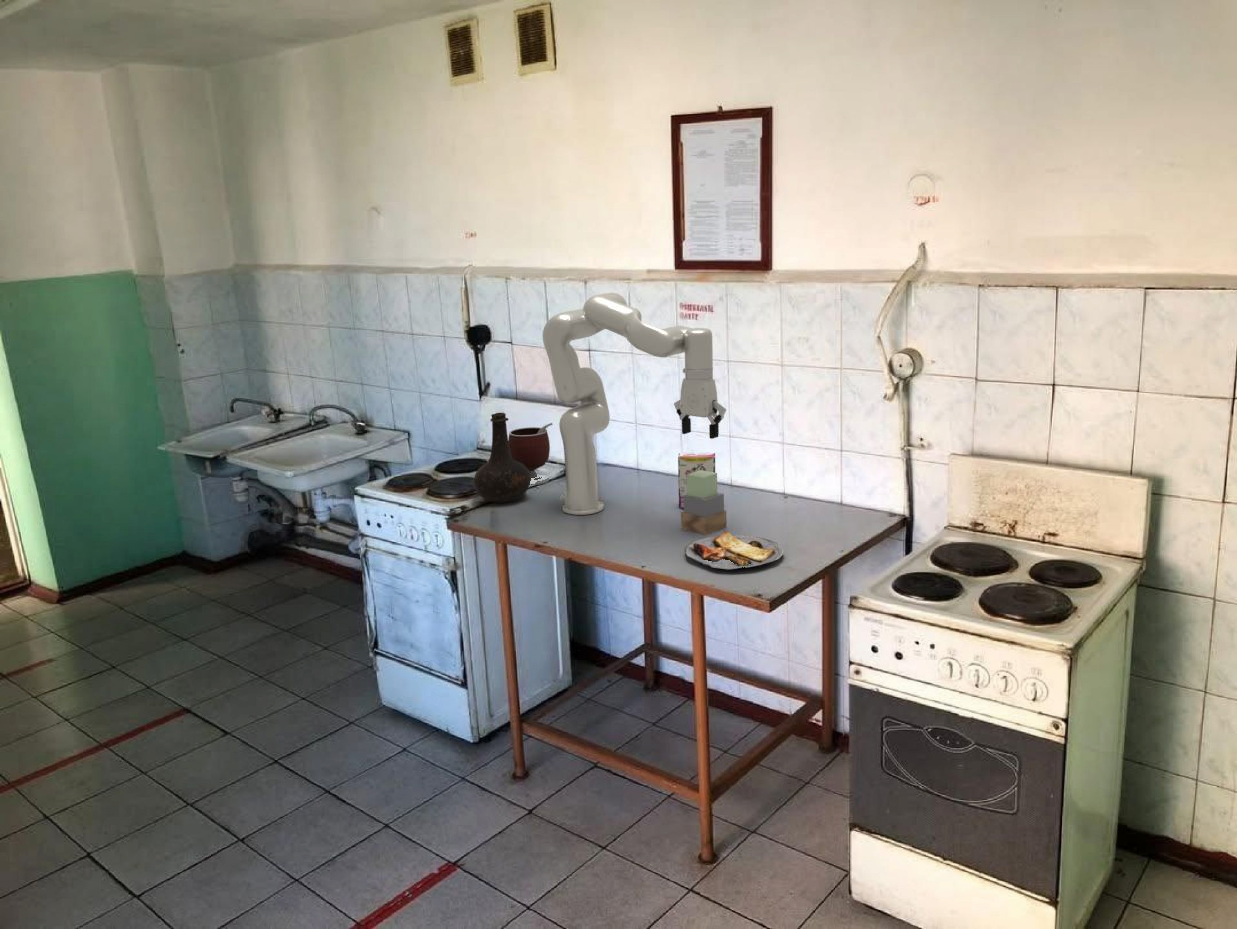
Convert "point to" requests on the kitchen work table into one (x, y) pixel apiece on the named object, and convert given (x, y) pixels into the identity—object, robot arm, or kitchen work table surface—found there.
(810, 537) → the kitchen work table surface
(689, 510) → the gray middle block
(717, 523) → the walnut base block
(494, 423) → the glass bottle
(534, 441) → the mate gourd
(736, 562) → the food plate
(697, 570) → the kitchen work table surface
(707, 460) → the candy bar box
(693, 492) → the green cube
